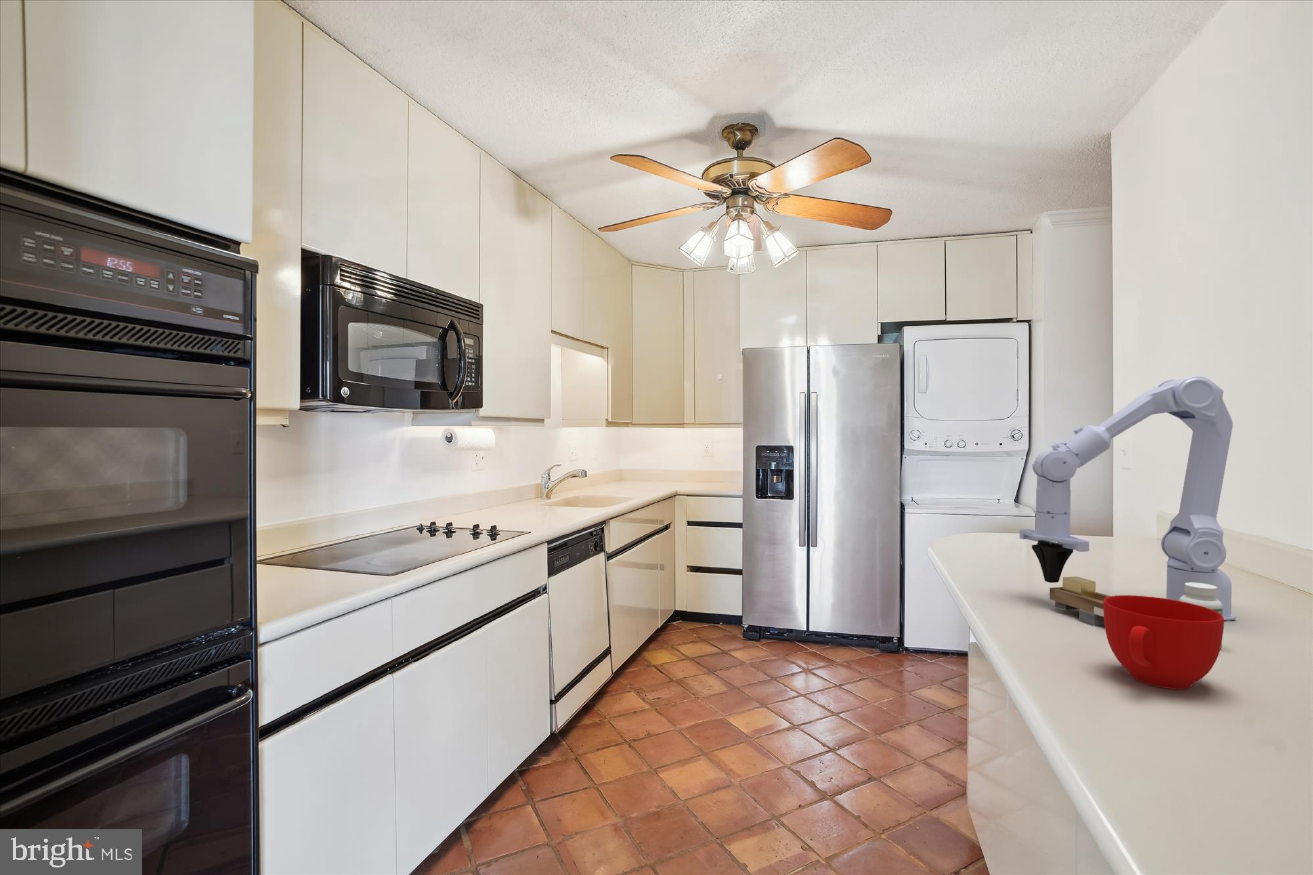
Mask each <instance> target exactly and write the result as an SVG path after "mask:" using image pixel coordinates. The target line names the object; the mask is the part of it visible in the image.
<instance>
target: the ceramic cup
mask: <svg viewBox="0 0 1313 875" xmlns="http://www.w3.org/2000/svg"><path fill="white" fill-rule="evenodd" d="M1108 596H1109V597H1106V598H1105V599H1104V600H1103V612H1104V624H1105V625H1104V631H1105V634H1106V639H1107V642H1108V645H1109V647H1110V650H1111V651H1112V654H1113V655H1114V657H1115V658H1116V660H1118V662H1119V663H1120V664H1121V666H1122V668H1124V669H1125V671H1126V672H1127V673H1128V674H1129V676H1130V677H1131V678H1133V679H1134V680H1136V681H1138V682H1141V683H1144V684H1147V685H1150V686H1154V687H1158V688H1162V689H1170V690H1171V689H1172V690H1187V689H1189V688H1191V687H1192V686H1193V685H1194V684H1195V683H1197V682H1199V681H1201V680H1202V679H1203V678H1205V677H1206V676H1207V675H1208V673H1210V671H1211V670H1212V668H1213V667H1214V665H1215V663H1216V662H1217V659H1218V658H1219V654H1220V651H1221V648H1222V646H1221V643H1222V644H1223V635H1224V625H1225V620H1224V617H1223V616H1222V615H1221V614H1220V613H1218V612H1216V611H1214V610H1212V609H1209V608H1206V607H1203V606H1199V605H1195V604H1191V603H1187V602H1182V601H1176V600H1171V599H1166V598H1163V597H1157V596H1156V597H1155V596H1148V595H1147V596H1146V595H1130V594H1127V595H1124V594H1123V595H1122V594H1121V595H1108Z"/></svg>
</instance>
